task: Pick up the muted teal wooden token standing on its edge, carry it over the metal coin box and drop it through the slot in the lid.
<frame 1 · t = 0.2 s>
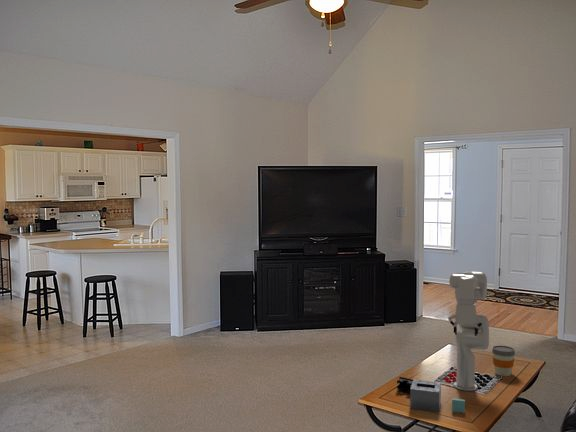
hand: (465, 334, 270), 36 cm above the table, tool pointing down, fingers open, 9 cm apart
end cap: (407, 391, 290), on the table
reusable coffee cup: (503, 373, 317), on the table
token: (458, 411, 263), on the table
coin box: (425, 404, 272), on the table
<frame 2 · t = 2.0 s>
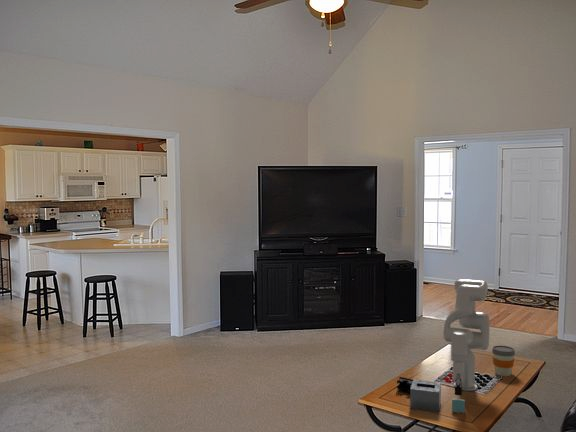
hand: (458, 391, 262), 10 cm above the table, tool pointing down, fingers open, 9 cm apart
nothing on the table moved.
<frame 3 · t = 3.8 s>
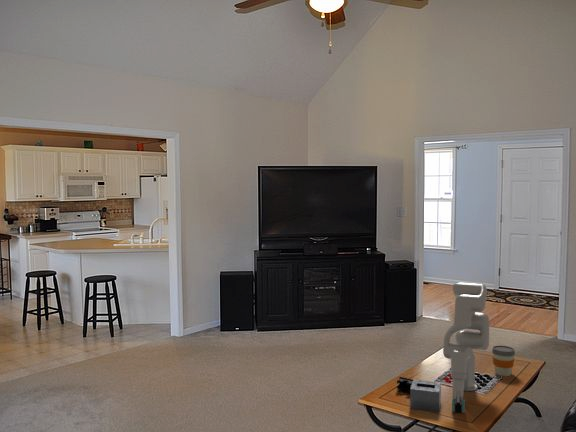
hand: (458, 410, 263), 0 cm above the table, tool pointing down, fingers closed on token, 1 cm apart
token: (458, 411, 263), on the table, touching gripper
everything else where it was.
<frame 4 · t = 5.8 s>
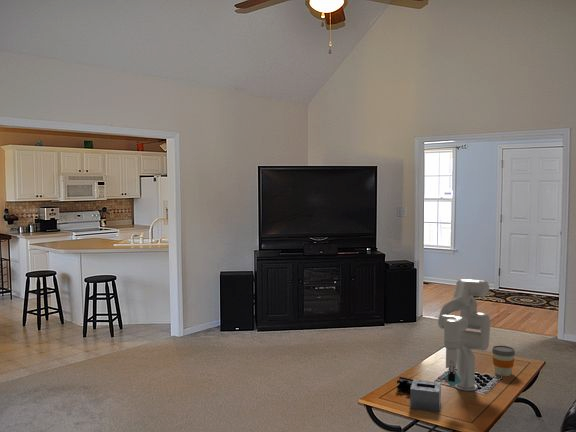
hand: (451, 380, 264), 15 cm above the table, tool pointing down, fingers closed on token, 1 cm apart
token: (456, 383, 264), point 14 cm above the table, tilted 34°, touching gripper
everything else where it was.
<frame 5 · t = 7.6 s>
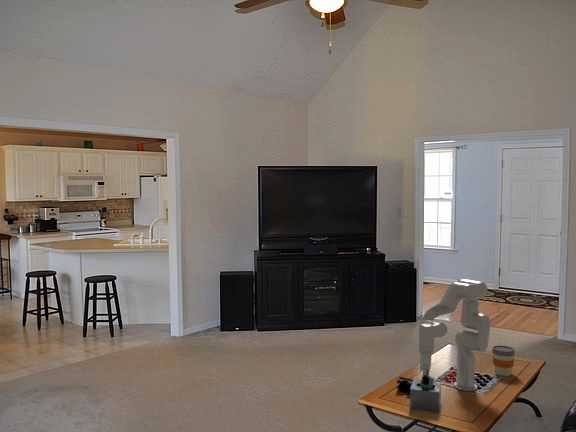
hand: (425, 383, 271), 11 cm above the table, tool pointing down, fingers closed on token, 1 cm apart
token: (433, 384, 270), point 11 cm above the table, tilted 75°, touching gripper
everything else where it was.
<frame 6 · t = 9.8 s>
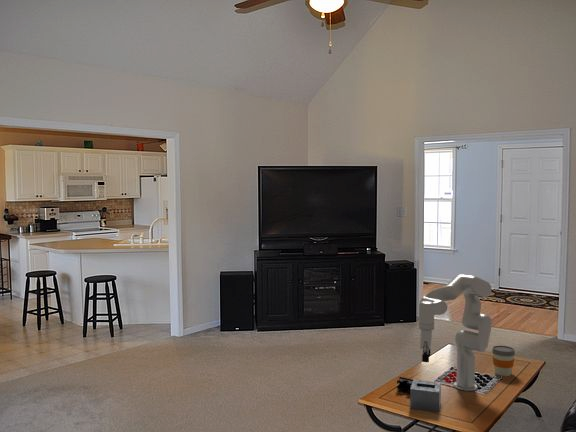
hand: (426, 358, 270), 24 cm above the table, tool pointing down, fingers open, 9 cm apart
token: (431, 402, 267), point 3 cm above the table, tilted 89°, touching coin box
everything else where it was.
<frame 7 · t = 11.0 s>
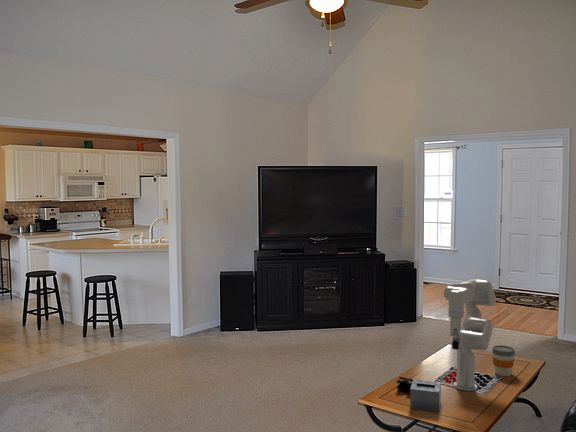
hand: (455, 346, 277), 28 cm above the table, tool pointing down, fingers open, 9 cm apart
nothing on the table moved.
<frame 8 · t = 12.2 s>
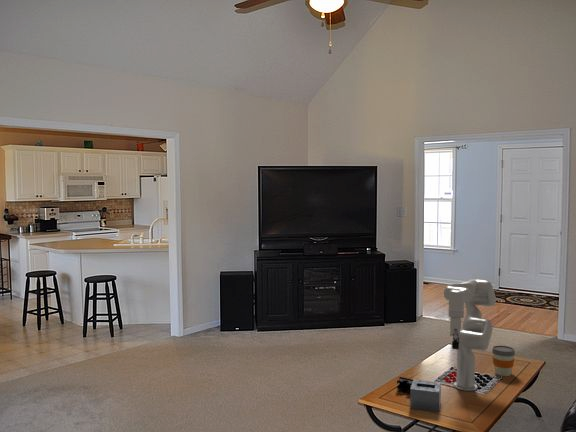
hand: (455, 346, 277), 28 cm above the table, tool pointing down, fingers open, 9 cm apart
nothing on the table moved.
at the end: token inside the target area on the coin box (4.3 cm from its centre), point 2.8 cm above the coin box's base; the gripper is holding nothing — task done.
